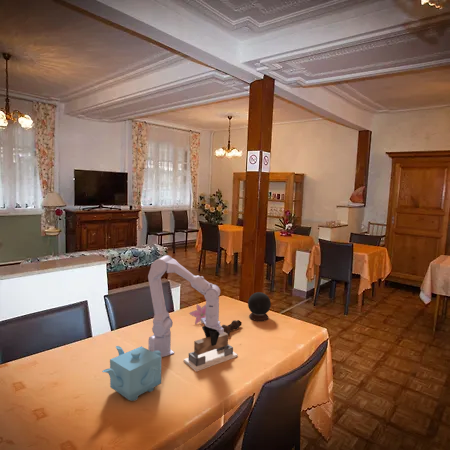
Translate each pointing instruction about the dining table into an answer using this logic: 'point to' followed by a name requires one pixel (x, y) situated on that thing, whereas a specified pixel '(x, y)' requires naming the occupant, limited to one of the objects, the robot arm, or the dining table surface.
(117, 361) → the blue cube teapot
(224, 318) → the dining table surface
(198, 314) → the lily
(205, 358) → the board
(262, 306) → the black ball on stand
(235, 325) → the bolt
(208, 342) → the slat
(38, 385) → the dining table surface
